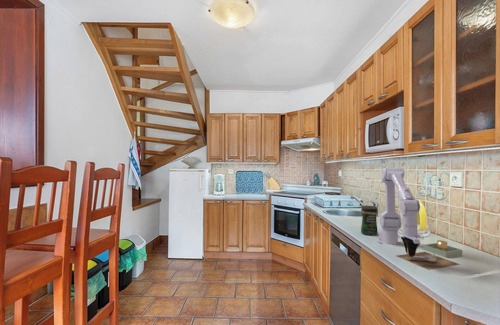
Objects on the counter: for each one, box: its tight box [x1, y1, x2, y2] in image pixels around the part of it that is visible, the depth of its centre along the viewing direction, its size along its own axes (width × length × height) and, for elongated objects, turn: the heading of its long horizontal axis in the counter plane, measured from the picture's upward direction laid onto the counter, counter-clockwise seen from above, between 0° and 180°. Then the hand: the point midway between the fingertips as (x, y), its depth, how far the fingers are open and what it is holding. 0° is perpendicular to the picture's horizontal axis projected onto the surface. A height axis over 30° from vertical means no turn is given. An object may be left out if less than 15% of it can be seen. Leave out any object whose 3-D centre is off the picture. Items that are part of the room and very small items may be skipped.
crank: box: [406, 248, 436, 263], centre depth 109 cm, size 11×4×6 cm, turn 76°
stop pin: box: [436, 239, 448, 252], centre depth 119 cm, size 4×4×6 cm
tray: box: [422, 242, 463, 259], centre depth 119 cm, size 11×11×4 cm
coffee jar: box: [360, 205, 379, 236], centre depth 155 cm, size 10×8×19 cm
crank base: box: [396, 251, 461, 271], centre depth 110 cm, size 16×20×1 cm
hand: (410, 254), depth 110 cm, fingers open, 3 cm apart
